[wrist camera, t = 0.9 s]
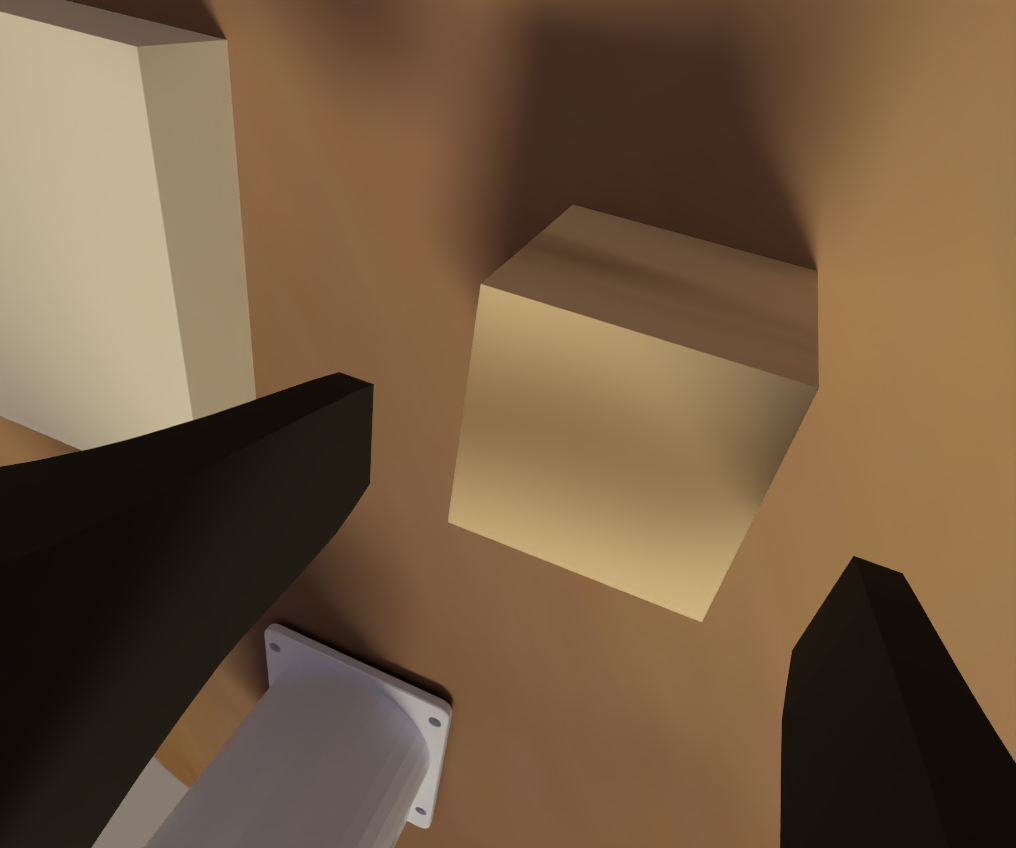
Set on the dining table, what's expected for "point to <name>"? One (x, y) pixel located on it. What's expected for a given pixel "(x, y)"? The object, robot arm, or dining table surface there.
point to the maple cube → (633, 402)
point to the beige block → (117, 226)
